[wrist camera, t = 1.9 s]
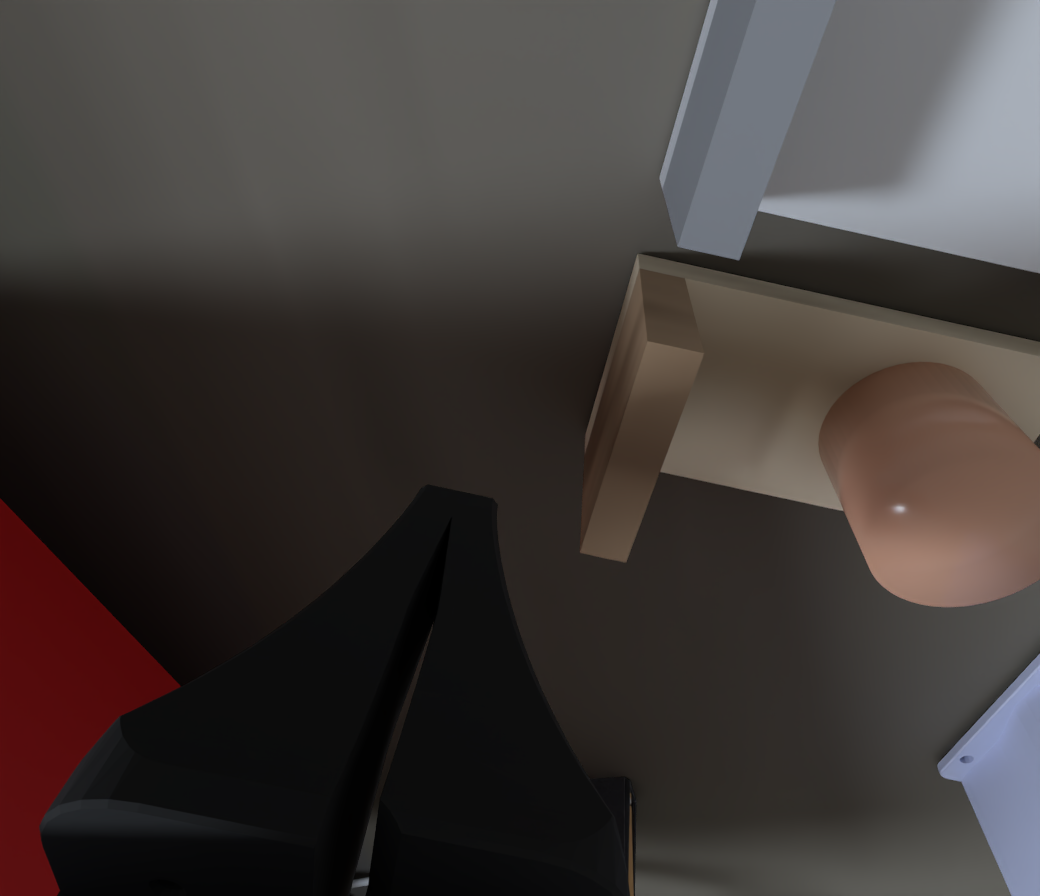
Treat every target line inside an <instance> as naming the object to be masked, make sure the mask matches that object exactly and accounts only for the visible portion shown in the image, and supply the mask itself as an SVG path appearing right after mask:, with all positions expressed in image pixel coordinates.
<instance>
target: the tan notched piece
mask: <svg viewBox="0 0 1040 896" xmlns="http://www.w3.org/2000/svg"><path fill="white" fill-rule="evenodd" d="M912 362H934V363H941V364H946V365H949V366H953V367H955V368H958V369H960V370H962V371H964V372H966V373H967V374H969V375H970V376H972V377H973V378H974V379H975V380H976V381H977V382H978V383H979V384H980V385H981V386H982V387H983V388H984V389H985V390H986V391H987V393H988V394H989V395H990V396H991V397H992V398H993V399H994V400H995V401H996V402H997V403H998V405H999V406H1000V407H1001V408H1002V409H1003V410H1004V411H1005V412H1006V413H1007V414H1008V415H1009V417H1010V418H1011V419H1012V420H1013V421H1014V422H1015V423H1016V424H1017V425H1018V426H1019V427H1020V428H1021V430H1022V431H1023V432H1024V433H1025V434H1026V435H1027V436H1028V437H1029V438H1030V439H1031V440H1032V442H1033V443H1034V442H1035V440H1036V439H1037V437H1038V436H1039V435H1040V342H1038V341H1033V340H1029V339H1024V338H1019V337H1015V336H1010V335H1006V334H1001V333H997V332H992V331H988V330H983V329H979V328H974V327H970V326H965V325H961V324H956V323H951V322H947V321H942V320H938V319H933V318H929V317H924V316H920V315H915V314H911V313H906V312H902V311H897V310H892V309H888V308H883V307H879V306H874V305H870V304H865V303H861V302H856V301H852V300H847V299H843V298H838V297H834V296H829V295H824V294H820V293H815V292H811V291H806V290H802V289H797V288H793V287H788V286H784V285H779V284H775V283H770V282H766V281H761V280H756V279H752V278H747V277H743V276H738V275H734V274H729V273H725V272H720V271H716V270H711V269H707V268H702V267H697V266H693V265H688V264H684V263H679V262H675V261H670V260H666V259H661V258H657V257H652V256H648V255H643V254H639V253H638V254H637V257H636V261H635V264H634V268H633V271H632V274H631V278H630V281H629V285H628V288H627V292H626V295H625V299H624V302H623V306H622V309H621V313H620V316H619V320H618V323H617V327H616V330H615V333H614V337H613V340H612V344H611V347H610V351H609V354H608V358H607V361H606V365H605V368H604V372H603V375H602V379H601V382H600V386H599V389H598V392H597V396H596V399H595V403H594V406H593V410H592V413H591V417H590V420H589V424H588V427H587V431H586V434H585V453H584V474H583V496H582V517H581V538H580V553H583V554H587V555H592V556H597V557H602V558H606V559H611V560H616V561H620V562H625V563H626V562H627V559H628V556H629V554H630V551H631V548H632V545H633V543H634V540H635V537H636V535H637V532H638V529H639V527H640V524H641V521H642V519H643V516H644V513H645V511H646V508H647V505H648V503H649V500H650V497H651V495H652V492H653V489H654V487H655V484H656V481H657V479H658V476H659V473H660V472H663V473H668V474H673V475H677V476H682V477H686V478H691V479H696V480H700V481H705V482H710V483H714V484H719V485H724V486H728V487H733V488H738V489H742V490H747V491H752V492H756V493H761V494H766V495H770V496H775V497H780V498H784V499H789V500H794V501H798V502H803V503H808V504H812V505H817V506H822V507H826V508H831V509H836V510H840V511H844V510H843V508H842V506H841V503H840V501H839V499H838V497H837V494H836V492H835V490H834V488H833V485H832V483H831V481H830V479H829V477H828V474H827V472H826V470H825V468H824V465H823V463H822V461H821V458H820V454H819V445H818V441H819V433H820V429H821V426H822V423H823V421H824V419H825V416H826V415H827V413H828V411H829V410H830V408H831V407H832V405H833V404H834V403H835V402H836V400H837V399H838V398H839V397H840V396H841V395H842V394H843V393H844V392H845V391H846V390H848V389H849V388H850V387H851V386H853V385H854V384H855V383H857V382H859V381H860V380H862V379H863V378H865V377H867V376H869V375H871V374H873V373H875V372H877V371H880V370H882V369H885V368H888V367H892V366H895V365H899V364H905V363H912Z"/></svg>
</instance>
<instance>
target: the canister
mask: <svg viewBox="0 0 1040 896" xmlns="http://www.w3.org/2000/svg"><path fill="white" fill-rule="evenodd" d="M818 445H819V454H820V458H821V461H822V463H823V465H824V468H825V470H826V472H827V474H828V477H829V479H830V481H831V483H832V485H833V488H834V490H835V492H836V494H837V497H838V499H839V501H840V503H841V506H842V508H843V510H844V512H845V515H846V517H847V519H848V521H849V524H850V526H851V528H852V530H853V533H854V535H855V537H856V539H857V542H858V544H859V546H860V548H861V551H862V553H863V555H864V557H865V560H866V562H867V564H868V566H869V569H870V571H871V573H872V574H873V576H874V577H875V579H876V580H877V581H878V582H879V583H880V584H881V585H882V586H883V587H884V588H885V589H887V590H888V591H889V592H891V593H892V594H894V595H896V596H898V597H900V598H902V599H905V600H907V601H910V602H914V603H917V604H921V605H927V606H934V607H962V606H971V605H977V604H982V603H986V602H990V601H994V600H997V599H1000V598H1003V597H1006V596H1009V595H1011V594H1013V593H1016V592H1018V591H1020V590H1022V589H1024V588H1026V587H1028V586H1030V585H1031V584H1033V583H1035V582H1036V581H1038V580H1039V579H1040V449H1039V448H1038V447H1037V446H1036V445H1035V444H1034V443H1033V442H1032V440H1031V439H1030V438H1029V437H1028V436H1027V435H1026V434H1025V433H1024V432H1023V431H1022V430H1021V428H1020V427H1019V426H1018V425H1017V424H1016V423H1015V422H1014V421H1013V420H1012V419H1011V418H1010V417H1009V415H1008V414H1007V413H1006V412H1005V411H1004V410H1003V409H1002V408H1001V407H1000V406H999V405H998V403H997V402H996V401H995V400H994V399H993V398H992V397H991V396H990V395H989V394H988V393H987V391H986V390H985V389H984V388H983V387H982V386H981V385H980V384H979V383H978V382H977V381H976V380H975V379H974V378H973V377H972V376H970V375H969V374H967V373H966V372H964V371H962V370H960V369H958V368H955V367H953V366H949V365H946V364H941V363H934V362H912V363H905V364H899V365H895V366H892V367H888V368H885V369H882V370H880V371H877V372H875V373H873V374H871V375H869V376H867V377H865V378H863V379H862V380H860V381H859V382H857V383H855V384H854V385H853V386H851V387H850V388H849V389H848V390H846V391H845V392H844V393H843V394H842V395H841V396H840V397H839V398H838V399H837V400H836V402H835V403H834V404H833V405H832V407H831V408H830V410H829V411H828V413H827V415H826V416H825V419H824V421H823V423H822V426H821V429H820V433H819V441H818Z"/></svg>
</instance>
